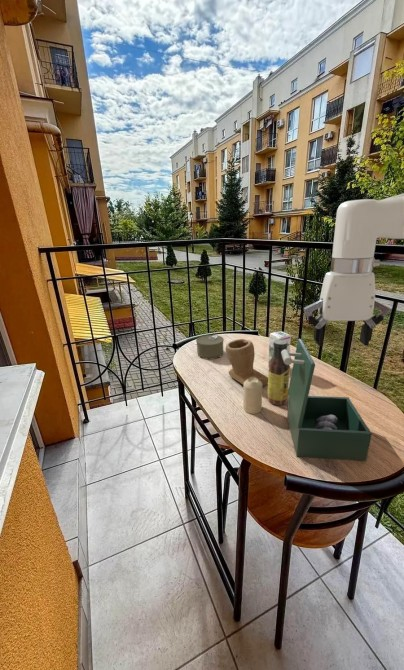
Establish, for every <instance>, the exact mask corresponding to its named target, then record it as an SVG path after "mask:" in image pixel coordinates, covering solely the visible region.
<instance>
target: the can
mask: <svg viewBox="0 0 404 670" xmlns="http://www.w3.org/2000/svg"><path fill="white" fill-rule="evenodd" d="M195 342H196V355H197V354H198V355H197V356H198V357H199V356H200V357H202V358H201V359H203V358H216V359H218V358H217V357H219V358H221V357H223V356H224V337H223V336H221V335H217V334H204V335H200V336H198V337H197V338H196V339H195ZM220 356H221V357H220ZM200 357H199V358H200Z"/></svg>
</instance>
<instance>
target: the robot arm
mask: <svg viewBox="0 0 404 670" xmlns="http://www.w3.org/2000/svg"><path fill="white" fill-rule="evenodd" d="M377 239H392V240H404V193H400V194H397V195H393V196H390V197H386V198H383V199H375V198H372V199H371V198H365V199H353V200H347V201H344V202H341V203H340V205H338V208H337V209H336V216H335V225H334V235H333V244H332V254H331V264H330V271H329V272H326V273H325V275H324V278H323V281H322V286H321V291H320V296H319V300H317V301H315V302H313V303H311V304H309V305H307V306H305V307H303V312H304V314H305V317H306V318H307V320H308V321H309V323H310V324H311V325H313V326H314V328H313V331H314V332H313V341H314V342H315V343H316V344H317V346H319V347H321V346H323V341H324V332H325V330H324V328H323V327H324V326H325V325H326V324H327V323H328V322H361V321H362V322H363V324H362V325H361V327H360V335H359V342H360V343H361V344H362V345H363V346H365V347H368V346H369V344H370V342H371V341H372V336H373V330H374V329H376V327H377V325H379V324H380V323H381V322H382V321H384V319H385V317H386V316H387V315H388V314H389V312H390V311H391V308H390V307H389V306H387V305H385V304H384V303H381V302H379V301H378V300H375V299H376V280H375V279H376V277H375V272H373V271H374V268H375V267H380V265H381V260H380V259H376V258H375V257H374V256H375V251H376V246H377V245H376V244H377ZM374 309H377V310H378V311H377V313H376V314H374ZM316 310H318V311H317V312H318V314H319V315H318V316H317V317H316V318H315V317H314V315H313V312H314V311H316Z"/></svg>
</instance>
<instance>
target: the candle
mask: <svg viewBox="0 0 404 670" xmlns="http://www.w3.org/2000/svg"><path fill="white" fill-rule="evenodd" d="M242 398H243V399H242V401H243V402H242V408H243V410H244V411H245V412H246V413H249V414H257V413H260V412H261V411H262V408H263V407H262V406H263V386H262V383H261V382H260V381H259V380H258V379H257V378H254V377H251V378H250V379H247V380H246V381H245V382H244V385H243V396H242Z"/></svg>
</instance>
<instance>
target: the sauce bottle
mask: <svg viewBox="0 0 404 670" xmlns="http://www.w3.org/2000/svg"><path fill="white" fill-rule="evenodd" d="M273 346H274V353H273V355H274V356H273V357H272V358H271V360H270V362H269V361H268V364H269V367H268V371H267V373H268V374H267V377H268V383H267V401H268V402H269V403H270V404H272V405H275V406H283V405H284V404H286V403H287V401H288V398H289V396H288V389H289V384H290V371H291V370H290V369H291V366H290V365H286V364H285V363H284V361H283V358H282V355H281V351H282V350H284V349H286V350H287V346H288V343H287V341H284V340H275V341H274V344H273Z"/></svg>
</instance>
